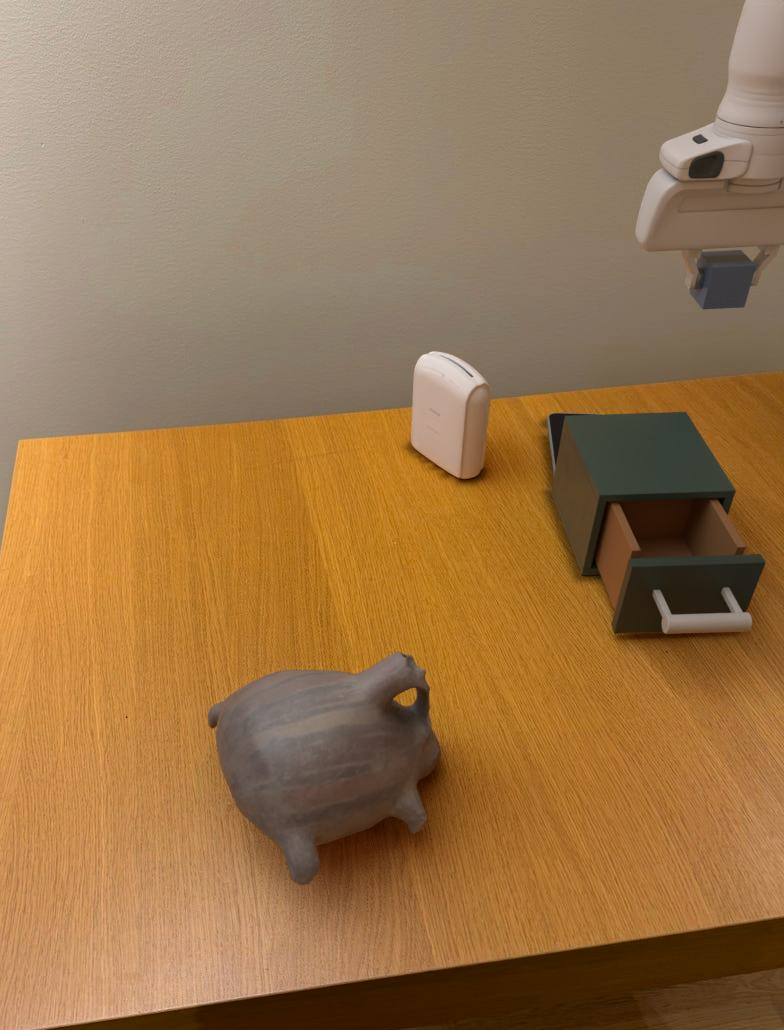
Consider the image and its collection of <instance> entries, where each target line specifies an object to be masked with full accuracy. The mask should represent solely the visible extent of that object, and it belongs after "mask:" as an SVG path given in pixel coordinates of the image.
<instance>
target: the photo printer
mask: <svg viewBox="0 0 784 1030" xmlns="http://www.w3.org/2000/svg"><path fill="white" fill-rule="evenodd" d="M412 384H413V385H412V402H411V404H412V405H411V427H410V443H411V446H412V447H413V448H414V449H415V450H416V451H418V452H419V453H420V454H421V455H423V456H424V457H425V458H427V459H428V460H429V461H431V462H432V463H434V464H435V465H437V466H438V467H439V468H441V469H443V470H444V471H445V472H447V473H449V474H450V475H452V476H454V477H456V478H457V479H461V480H466V479H473V478H475V477H477V476H478V475H479V474H480V473H481V470H483V468H484V465H485V459H486V458H485V457H486V447H487V440H488V439H487V438H488V430H489V429H488V428H489V419H490V412H491V411H490V410H491V399H492V389H491V386H490V384H489V383H488V382H487V380H486V379H485V377H483V375H481V373H480V372H479V371H477V369H476V368H474V367H473V366H472V365H470V364H469V363H468V362H466V361H465V360H463V359H461V358H459V357H457V356H455V355H453V354H451V353H447V352H443V351H430V352H428V353H424V354H422V355H421V356H420V357H419V358H418V360H417V361H416V364H415V366H414V370H413V382H412Z"/></svg>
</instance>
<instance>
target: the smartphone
mask: <svg viewBox="0 0 784 1030" xmlns="http://www.w3.org/2000/svg"><path fill="white" fill-rule="evenodd" d="M576 415H604V414H603V413H585V412H584V413H583V412H582V413H581V412H551V413H549V414H548V415H547V421H546V423H547V424H546V425H547V431H548V440H549V447H550V456H551V464H552V471H553V473H552V474H553V475H554V474H555V468H556V462H557V457H558V451H559V446H560V440H561V435H562V429H563V424H564V418H565V416H576Z"/></svg>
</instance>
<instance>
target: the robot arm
mask: <svg viewBox="0 0 784 1030" xmlns="http://www.w3.org/2000/svg"><path fill="white" fill-rule="evenodd" d="M727 70H728V71H727V72H728V76H727V77H728V78H727V79H728V80H727V87H726V90H725V93H724V95H723V97H722V99H721V102H720V103H719V105H718V108H717V111H716V115H715V119H714V122H712V123H711V122H710V123H709V124H707V125H704V126H702V127H700V128H697V129H695V130H693V131H689V132H687V133H685V134H682V135H679V136H676V137H674V138H670V139H669V140H666V141H665V142H664V143H662V144H661V147H660V150H659V158H658V159H659V162H660V164H661V166H662V167H661V168H660V169H658V170H657V171H656V172H655V173H654V174H653V175H652V176H651V178H650V180H649V181H648V183H647V185H646V188H645V191H644V193H643V194H644V195H643V197H642V201H641V204H640V208H639V211H638V215H637V219H636V224H635V229H634V231H635V232H634V233H635V238H636V240H637V241H638V243H639V245H640V246H642V248H643V249H644V250H645V251H647V252H651V253H654V252H655V253H656V252H671V251H674V252H675V251H680V253H681V256H682V259H683V263H684V265H685V267H686V269H687V272H686V275H685V279H684V286H685V287H686V289H688V290H690V289H699V288H702V287H703V284H704V283H703V281H704V280H705V276H706V273H705V272H704V271H703V270H702V269H701V268H697V265H696V264H697V261H696V260H697V259H699V258H700V257H701V253H702V252H703V250H713V249H730V248H732V249H733V248H749V247H751V248H752V247H757V249H758V250H759V251H758V254H757V255H755V257H754V259H753V260H751V261H752V262H753V263H754V264H755V265H756V268H755V272H754V275H753V279H752V282H751V286H750V287H756V286H758V284H759V281H760V278H761V275H762V272H763V271H764V270H765V269H766V268H767V267H768V266H769V265H770V263H771V262H772V261H773V260H775V258H776V257H777V256H778V253H779V250H780V246H784V0H744V3H743V7H742V10H741V13H740V15H739V20H738V23H737V26H736V30H735V34H734V38H733V41H732V45H731V50H730V53H729V60H728V64H727ZM695 259H696V260H695Z"/></svg>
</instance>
